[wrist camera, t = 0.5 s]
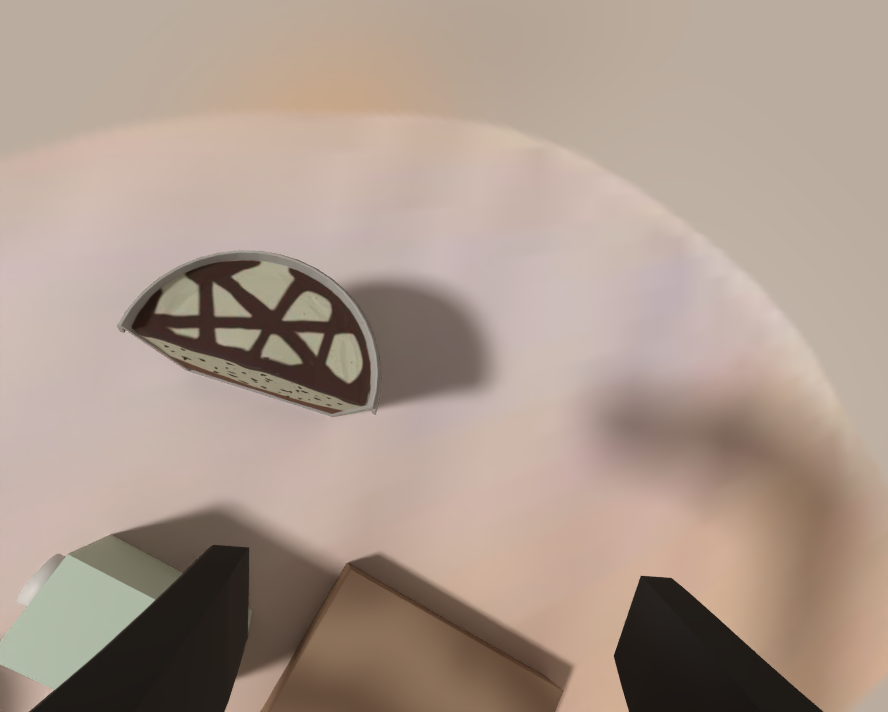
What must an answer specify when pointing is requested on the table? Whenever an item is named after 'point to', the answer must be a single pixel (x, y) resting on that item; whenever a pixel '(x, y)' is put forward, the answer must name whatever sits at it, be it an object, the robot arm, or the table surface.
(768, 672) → the robot arm
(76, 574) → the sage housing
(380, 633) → the walnut stand
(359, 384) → the food container
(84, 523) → the table surface
